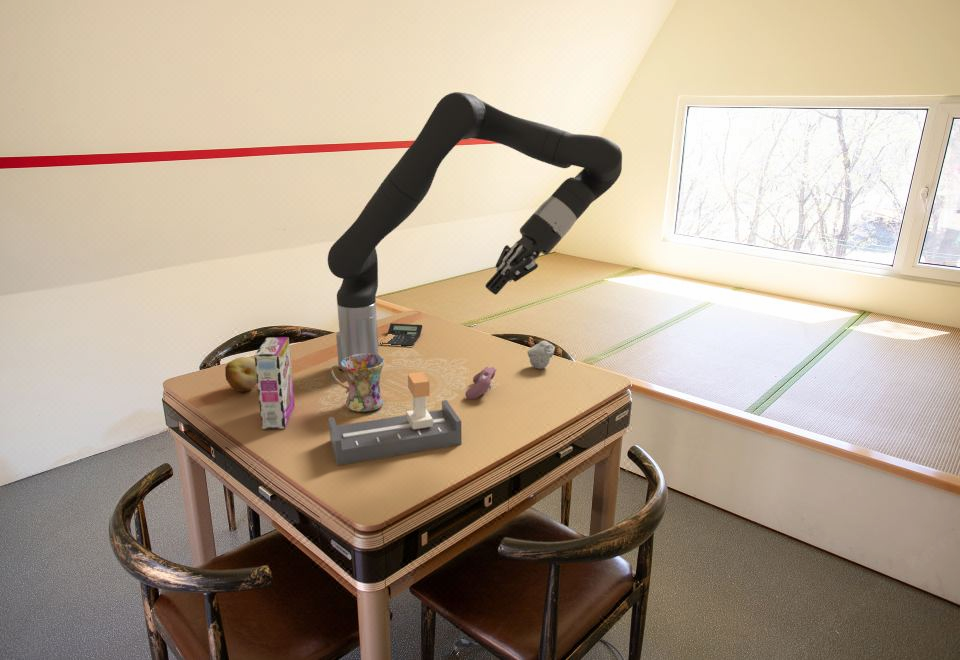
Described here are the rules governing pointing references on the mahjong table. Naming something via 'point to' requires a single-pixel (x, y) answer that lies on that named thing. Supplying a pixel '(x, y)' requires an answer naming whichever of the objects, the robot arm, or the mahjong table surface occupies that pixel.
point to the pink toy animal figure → (481, 383)
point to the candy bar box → (274, 382)
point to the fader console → (393, 436)
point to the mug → (362, 381)
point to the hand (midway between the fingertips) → (490, 290)
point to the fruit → (241, 373)
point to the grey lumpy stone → (541, 354)
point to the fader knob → (419, 401)
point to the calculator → (404, 334)
